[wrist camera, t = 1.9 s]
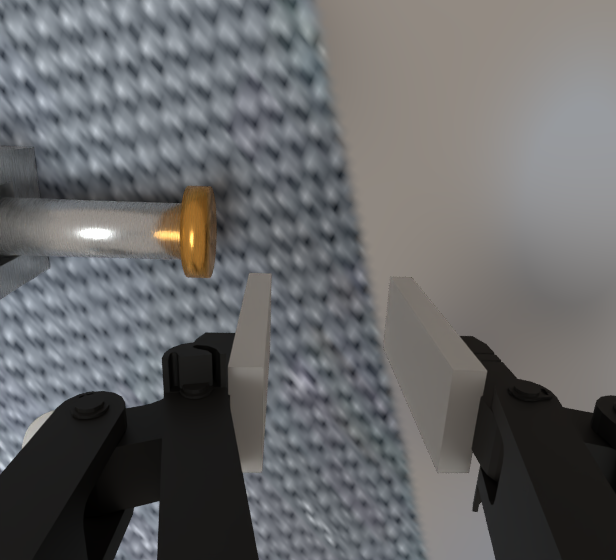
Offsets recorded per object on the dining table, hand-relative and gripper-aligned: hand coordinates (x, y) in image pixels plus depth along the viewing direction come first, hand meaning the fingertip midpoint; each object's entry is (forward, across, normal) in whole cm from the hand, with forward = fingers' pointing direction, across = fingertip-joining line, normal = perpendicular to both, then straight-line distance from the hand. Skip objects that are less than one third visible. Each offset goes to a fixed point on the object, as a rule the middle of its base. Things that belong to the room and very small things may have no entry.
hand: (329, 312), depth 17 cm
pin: (+14, +12, 0) cm, 19 cm away
